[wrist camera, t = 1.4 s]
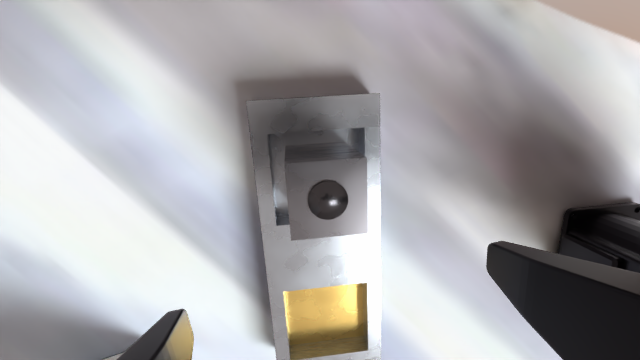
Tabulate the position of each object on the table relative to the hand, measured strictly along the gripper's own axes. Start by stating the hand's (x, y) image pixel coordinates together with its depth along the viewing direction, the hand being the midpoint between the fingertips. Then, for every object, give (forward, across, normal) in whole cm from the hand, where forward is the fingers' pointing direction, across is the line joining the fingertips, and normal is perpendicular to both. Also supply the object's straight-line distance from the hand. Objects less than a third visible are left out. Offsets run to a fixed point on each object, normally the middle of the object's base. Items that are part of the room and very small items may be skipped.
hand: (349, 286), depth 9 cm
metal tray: (+13, -1, +5) cm, 14 cm away
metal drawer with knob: (+12, -1, 0) cm, 13 cm away
